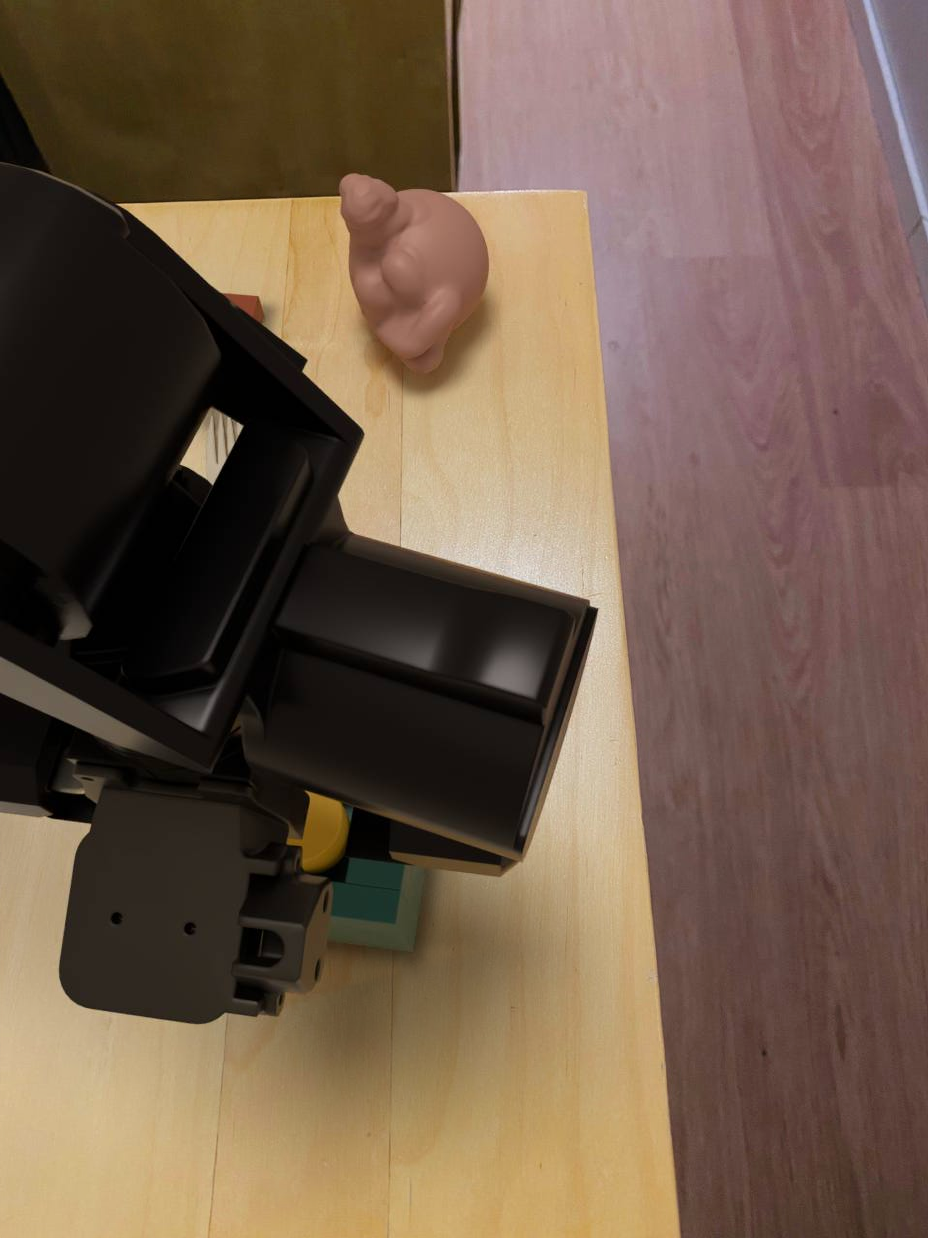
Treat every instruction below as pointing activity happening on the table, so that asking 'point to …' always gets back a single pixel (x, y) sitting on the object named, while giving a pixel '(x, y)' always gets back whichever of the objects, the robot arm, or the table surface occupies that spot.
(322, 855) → the cylinder
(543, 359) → the table surface
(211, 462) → the fork
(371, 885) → the green push button box
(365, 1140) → the table surface
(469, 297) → the figurine
